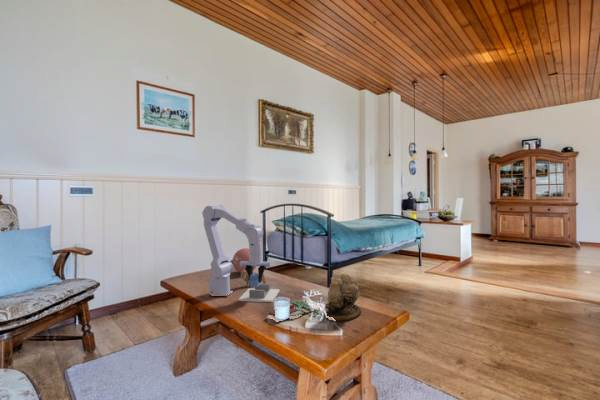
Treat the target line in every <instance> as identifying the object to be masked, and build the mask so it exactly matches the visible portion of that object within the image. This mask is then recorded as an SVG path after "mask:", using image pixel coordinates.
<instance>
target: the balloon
mask: <svg viewBox="0 0 600 400" xmlns="http://www.w3.org/2000/svg"><path fill="white" fill-rule="evenodd" d="M229 261H230V263H231V264H232V267H233V268H234V270H236V271H237V272H238V273H240V274H241V272H242V271H244V270H245V268H246V266H240V262H241V261H249V247H248V248H247V247H246V248H245V247H244V248H241V249H239V250H238V249H237V251H236V252H235V253H234V255H233V257H232V259H230V260H229ZM256 267H257V266H253V271H255V269H256Z"/></svg>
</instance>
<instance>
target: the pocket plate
mask: <svg viewBox="0 0 600 400" xmlns="http://www.w3.org/2000/svg"><path fill="white" fill-rule="evenodd" d="M270 287H271V285H270V283H265V284H263V283H261V284H260V285H259V286H258V287H248V288H247V290H246V291H245V292H244V293H243V294H242V295H241V296H240V297H239V298H238V302H253V303H256V302H257V303H273V302H274V301H275V299H276V297H277V295H279V293H280V288H279V289H278V288H270ZM274 298H275V299H274ZM273 300H274V301H273Z"/></svg>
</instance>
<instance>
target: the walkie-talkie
mask: <svg viewBox="0 0 600 400" xmlns="http://www.w3.org/2000/svg"><path fill="white" fill-rule="evenodd" d="M289 304H290V316H296V315H299V314H303V312H302V311H303V310H302V311H301V310H299V311H297V309H296V308H295V309H294V307H296V306H295V305H294V304H292V303H289ZM275 310H276V309H274V310H272V311H269V312H268V316H269V315H273V316H275Z"/></svg>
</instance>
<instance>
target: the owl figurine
mask: <svg viewBox="0 0 600 400" xmlns="http://www.w3.org/2000/svg"><path fill="white" fill-rule="evenodd" d="M340 280H341V282H342V285H341V283H339V282H338V281H331V283H330V284H329V289H328V291H327V302H328V303H325V305H324V308H325V309H326V311H325V312H326V313H327V316H329V317H333V318H334V319H335V320H336V322H335V323H344V322H349V321H352V320H355V319H357V318H358V317H360V316H361V314H362V310H361V308H360V307H359V306H357V305H356V304H355V303H356V302H357V300H358V299H359V297H360V296H361V295H360V293H359V292H358V291H359V287H358V280H357V279H356V277H355V276H353V275H350V274H349V273H345V272H343V273H341V274H340Z"/></svg>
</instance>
